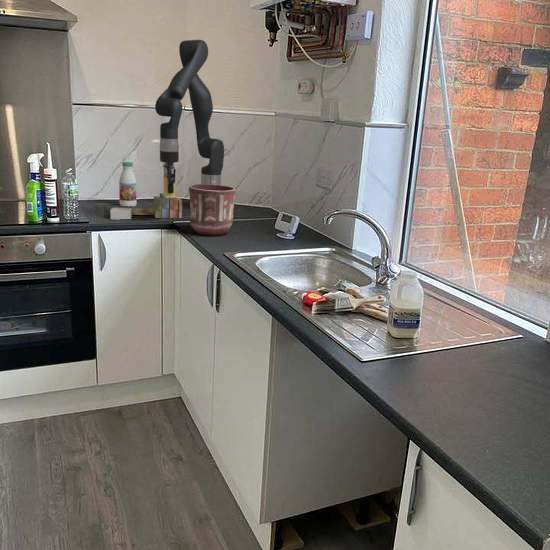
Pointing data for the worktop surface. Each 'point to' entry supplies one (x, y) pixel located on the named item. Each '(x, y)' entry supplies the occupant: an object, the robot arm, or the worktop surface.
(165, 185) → the butter yellow brick
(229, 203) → the pottery
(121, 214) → the off-white matte block
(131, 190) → the milk bottle
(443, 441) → the worktop surface
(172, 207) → the row of books
